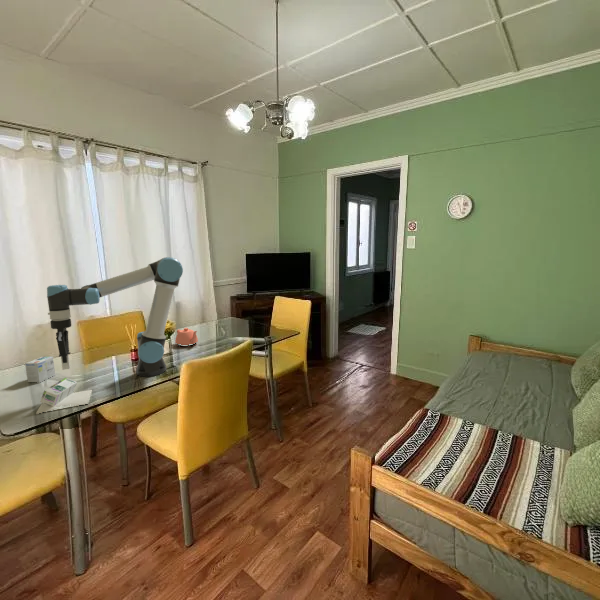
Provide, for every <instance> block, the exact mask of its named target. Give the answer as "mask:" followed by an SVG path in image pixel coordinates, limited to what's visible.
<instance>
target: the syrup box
mask: <svg viewBox="0 0 600 600" xmlns="http://www.w3.org/2000/svg"><path fill="white" fill-rule="evenodd" d="M77 383H78V382H77V381H75V380H72V379H71V378H67V377H65V378H62V379H61V380H59V381H58V382H55V384H54V383H53V385H51V386H49V387H47V388H46V389H45V390H44V391H43V393H42V395H41V398H40V401H39V402H40V403H42V402H43V403H45V404H48V405H51V406H55V405H56V404H58V403H59V402H60V401H62V400H63V399H65V398H66V397H67V396H69V395H70V394H72V393H75V392H74V391H75V389H76V387H77Z"/></svg>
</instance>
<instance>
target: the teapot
mask: <svg viewBox="0 0 600 600" xmlns="http://www.w3.org/2000/svg"><path fill="white" fill-rule="evenodd" d="M197 332H198V330H193V329H189V327H184V328H183V329H177V330H176V337H175V339H174V341H175V342H174V343H175V344H176V343H177V344H181V345H189V344H194V343H196V342H197V343H198V342H199V339H198V335H197ZM197 343H196V344H197ZM177 344H176V345H177Z"/></svg>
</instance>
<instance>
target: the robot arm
mask: <svg viewBox="0 0 600 600" xmlns="http://www.w3.org/2000/svg"><path fill="white" fill-rule="evenodd" d="M183 272H184V268H183V265H182V263H181V262H180V261H179V259H177V258H174V257H169V256H167V257H163V258H161V259H158V260H157V261H155V262H152V263H149V264H148V265H147V266H145V267H142V268H139V269H136V270H133V271H129V272H127V273H123V274H120V275H116V276H113V277H110V278H107V279H104V280H100V281H98V282H94V283H91V284H88V285H87V284H86V285H84V286H81V288H69V287H68V285H66V284H54V285H48V286H47V287H46V298H47V306H48V312H47V315H49V319H50V329H52V330H57V332H56V333H55V336H56V337H55V338H56V342H57V347H58V354H59V355H58V357H60V360H61V368H62V369H61V370H62V371H64V370H70V369H71V364H70V362H71V361H70V355H71V352H70V346H69V345H70V342H69V330H67V329H68V328H71V327H72V320H71V317H72V316H71V308H70V306H83V305H95V304H96V305H97V304H99V303H100V299H101V298H102V297H105V296H109V295H112V294H116V293H118V292H122V291H124V290H127V289H130V288H134V287H137V286H140V285H142V284H145V283H148V282H152V281H154V283H155V285H156V286H155V290H154V294H153V297H152V298H153V299H152V303H151V307H150V308H151V309H150V311H149V315H148V320H147V325H146V328H145V331H141V332H140V331H139V332H138V333H137V334H136V335H137V336H136V339H137V355H138V362H137V366H136V375H137V376H138V375H139V376H138V377H153V376H158V375H161V374H164V373H165V372H166V371H167V364H166V363H165V360H164V358H163V356H164V353H165V344H166V339H167V336H166V335H165V330H166V325H167V322H168V318H169V312H170V309H171V304H172V301H173V300H172V299H173V295H174V293H175V292H174V291H175V289H176V288H177V287H179V284H180V279H181V277H182V276H183ZM165 370H166V371H165ZM164 371H165V372H164Z"/></svg>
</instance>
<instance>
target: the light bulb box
mask: <svg viewBox="0 0 600 600" xmlns="http://www.w3.org/2000/svg"><path fill="white" fill-rule="evenodd" d="M24 366H25V371H26V379H27V383H28V382H37V383H36V384H40V382H41V383H42V381H43V382H45V381H47V380H49V379H51V378H53V377H55V376H56V370H55V369H56V368H55V362H54V356H40V357H38V358H35V359H33V360H31V361H28V362H25V363H24ZM54 375H55V376H54ZM52 376H53V377H52ZM50 377H51V378H50ZM48 378H49V379H48ZM46 379H47V380H46ZM44 380H45V381H44Z"/></svg>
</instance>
